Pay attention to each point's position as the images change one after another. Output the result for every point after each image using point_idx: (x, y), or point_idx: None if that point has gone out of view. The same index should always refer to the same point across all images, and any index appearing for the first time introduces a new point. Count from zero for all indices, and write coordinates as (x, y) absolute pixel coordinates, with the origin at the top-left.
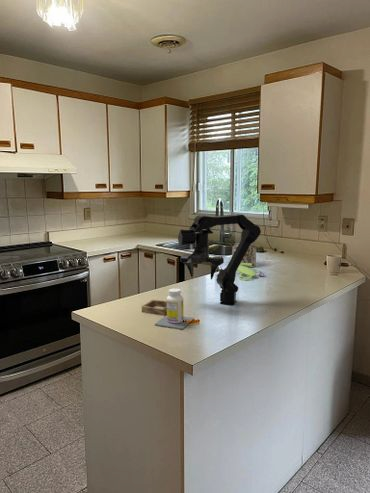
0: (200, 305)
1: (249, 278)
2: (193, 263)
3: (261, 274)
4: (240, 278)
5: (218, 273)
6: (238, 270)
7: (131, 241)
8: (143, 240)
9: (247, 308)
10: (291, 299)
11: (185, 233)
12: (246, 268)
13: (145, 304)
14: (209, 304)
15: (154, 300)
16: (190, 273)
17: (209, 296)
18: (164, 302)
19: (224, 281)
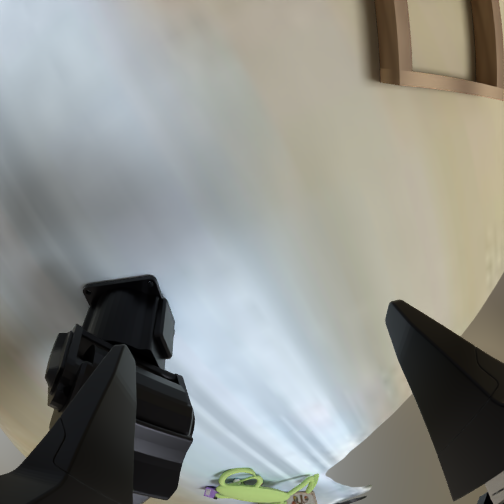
0: (245, 196)
1: (222, 476)
2: (445, 475)
3: (209, 492)
4: (248, 471)
5: (182, 461)
6: (272, 490)
7: None
8: None
9: (20, 283)
10: (17, 404)
11: None
12: (251, 499)
13: (498, 12)
14: (204, 240)
15: (494, 86)
16: (435, 327)
17: (270, 340)
18: (446, 76)
19: (74, 385)
